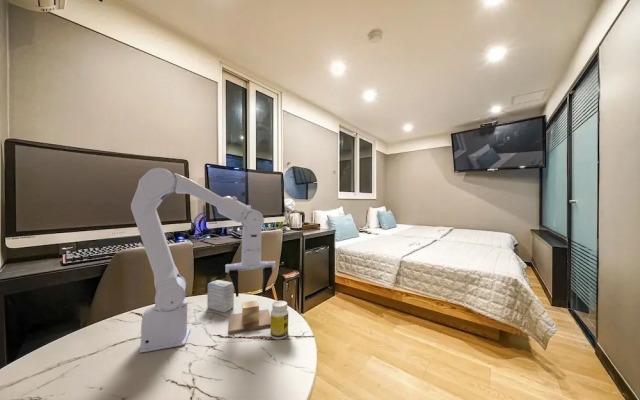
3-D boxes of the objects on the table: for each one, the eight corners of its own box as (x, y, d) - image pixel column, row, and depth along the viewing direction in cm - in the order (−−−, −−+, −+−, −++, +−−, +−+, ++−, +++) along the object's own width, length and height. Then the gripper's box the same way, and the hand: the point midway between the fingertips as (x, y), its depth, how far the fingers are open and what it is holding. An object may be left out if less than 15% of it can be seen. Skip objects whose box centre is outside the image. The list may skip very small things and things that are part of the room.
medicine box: (234, 308, 78) (234, 282, 79) (223, 313, 74) (224, 286, 74) (217, 303, 82) (218, 279, 82) (206, 308, 78) (207, 282, 78)
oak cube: (242, 324, 66) (242, 308, 66) (242, 316, 70) (242, 302, 70) (258, 321, 67) (258, 306, 68) (257, 314, 72) (257, 300, 72)
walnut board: (228, 334, 62) (228, 331, 62) (229, 317, 71) (229, 314, 71) (272, 326, 66) (272, 323, 66) (268, 311, 76) (268, 309, 76)
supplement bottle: (286, 340, 59) (286, 307, 60) (268, 339, 60) (269, 307, 60) (289, 330, 64) (289, 300, 65) (272, 330, 64) (273, 299, 65)
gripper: (225, 252, 63) (224, 302, 63) (277, 249, 68) (276, 295, 68) (226, 248, 70) (225, 293, 69) (273, 246, 75) (273, 287, 74)
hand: (250, 293), depth 69 cm, fingers open, 7 cm apart
